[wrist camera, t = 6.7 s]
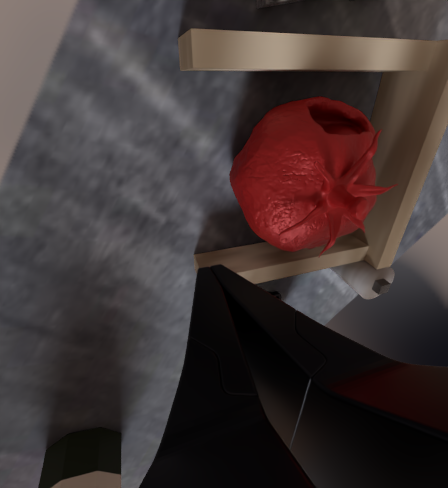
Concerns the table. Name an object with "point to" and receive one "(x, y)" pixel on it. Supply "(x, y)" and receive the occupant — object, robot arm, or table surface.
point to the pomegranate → (307, 174)
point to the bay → (383, 117)
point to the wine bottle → (84, 461)
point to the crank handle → (274, 2)
